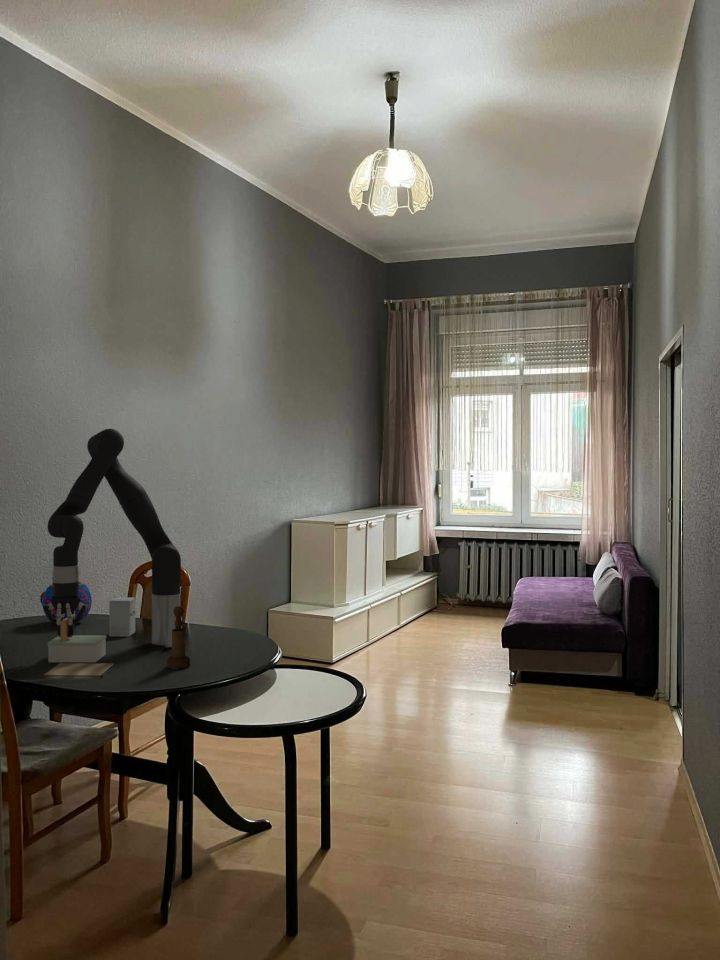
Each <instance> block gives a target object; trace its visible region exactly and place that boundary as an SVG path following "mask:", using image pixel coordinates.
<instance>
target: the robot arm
mask: <svg viewBox="0 0 720 960" xmlns="http://www.w3.org/2000/svg"><path fill="white" fill-rule="evenodd" d="M86 446H87V447H86V448H87V452H88V453H89V456H90V458H91V459H90V460H89V462H88V464H87V465H86V467H85V468H84V470H83V471H82V472H81V474H80V475H79V476H78V477H77V479H76V480H75V482H74V483H73V484H72V486H71V488H70V490H69V493H68V494H67V497H66V498H65V500H64V501H63V502H62V503H61V504H60V505H59V506H58V507H57V509H55V511H54V512H53V513H52V514H51V515H50V516H49V519H48V521H47V531H48V534H49V535H50V536H51V537H53V538H60V539H61V538H62V539H64V541H63V543H62V545H58V546H55V547H54V549H53V553H52V554H53V557H52V558H53V563H52V564H53V565H52V566H53V567H52V578H51V580H52V584H53V599H52V601H51V603H49V604H47V605H45V606H42V610H43V609H44V610H45V612H46V614H47V616H48V618H49V619H48V618H47V619H48V620H49V621H50V623H51V624H55V625H57V627H56V629H57V631H56V632H57V633H56V635H57V636H59V637H61V621H62V620H64V615H65V613H66V614H67V617H68V622H69V625H68V637H72V636H73V635H75V633H76V632H75V631H76V630H75V629H76V626H75V625H76V624H78V623H80V622H81V621H82V620H81V619H82V618H83V616H84V614H85V612H86V610H87V608H88V604H83V603H81V602H80V599H79V582H80V581H79V579H80V577H79V575H80V572H79V549H80V545H81V540H82V537H83V534H84V522H83V521H82V518H81V517H80V516H79V515H82V514H84V513H86V511H87V510H88V508H89V507H90V504H91V502H92V501H93V498H94V497H95V494H96V492H97V490H98V488H99V487H100V484H101V483H102V480H103V479H104V478H105V480H106V481H107V483H108V486H109V487H110V488H111V490H112V492H113V494H114V496H115V497H116V499H117V502H118V503H119V505H120V507H121V510H122V511H123V513H124V514H125V517H126V518H127V519H128V521H129V522H130V523H131V525H132V527H133V528H134V529H135V530H136V531H137V533H138V534H139V535H140V537H141V539H142V540H143V542H144V544H145V546H146V548H147V550H148V553H149V555H150V557H151V644H152V645H155V646H164V647H163V648H164V649H165V648H172V630H173V629H176V627H175V621H176V617H175V615H174V613H173V610H174V608H175V607H178V606H181V587H182V586H181V582H182V580H181V578H182V558H181V555H180V552H179V550H178V549H177V547H176V546H175V545H174V543H173V542H172V540H171V539H170V538H169V536H168V535H167V533H166V531H165V530H164V528H163V526H162V524H161V522H160V519H159V516H158V513H157V511H156V508H155V507H154V505H153V502H152V500H151V498H150V496H149V495H148V493H147V491H146V489H145V488H144V487H143V485H142V484H141V483H139V482H138V480H137V479H135V478H134V477H132V476H131V475H130V474H129V473H128V472H127V471H126V470H125V468H124V467H123V466H122V463H120V460H119V459H118V457H119V455H120V454H121V452H122V451H123V450H124V446H125V440H124V437H123V435H122V433H121V432H120V431H119V430H117V429H114V428H107V429H106V428H105V429H102V430H101V431H99V432H97V433H95V434H94V435H92V436H91V437H89V439H88V441H87V445H86ZM78 606H79V610H80V611H79V613H78V615H77V617H76V619H75V610H76V608H77V607H78ZM53 607H54V608H55V609H56V611H57V617H56V616H55V614H54V612H53V610H52V609H53ZM44 610H43V611H44ZM47 616H46V617H47ZM181 621H182V622H183V616H182V617H181ZM181 628H183V625H182V626H181Z"/></svg>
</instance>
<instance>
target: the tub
mask: <svg viewBox="0 0 720 960" xmlns="http://www.w3.org/2000/svg"><path fill="white" fill-rule="evenodd" d="M106 639H107V638H106ZM106 639H104V640H103V641H102V642H100V643H99V644H98V645H96V646H47V647H48V657H47V658H48V660H47V661H48V663H96V662H97V663H98V661H100V659H102V658H103V657H104V656H106V654H107V653H106V651H107V648H106Z"/></svg>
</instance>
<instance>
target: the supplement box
mask: <svg viewBox="0 0 720 960" xmlns="http://www.w3.org/2000/svg"><path fill="white" fill-rule="evenodd" d="M108 603H109V604H108V605H109V606H108V607H109V610H108V611H109V612H108V613H109V616H108V621H109V622H108V623H109V624H108V625H109V627H108V628H109V629H108V631H109V632H108V636H109V637H127V638H128V637H130V636H132V635H133V634H135V633H136V597H124V596H123V597H114V598H112V599H110V600H109V602H108Z"/></svg>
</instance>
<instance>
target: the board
mask: <svg viewBox="0 0 720 960" xmlns="http://www.w3.org/2000/svg"><path fill="white" fill-rule="evenodd" d="M113 666H114V663H98V662H97V663H96V662H59V663H58V664H57V665H56V666H54V667H52V669H50V670H49V671H47V672H46V673H44V674H43V679H44V680H45V679H46V680H48V679H52V680H53V679H55V680H57V679H61V680H62V679H63V680H64V679H67V680H68V679H70V680H73V679H75V680H77V679H79V680H80V679H81V680H82V679H83V680H84V679H85V680H86V679H87V680H89V679H90V680H91V679H93V680H97V679H99V680H100V679H102V678H103V677H104V675H103V674H104V673H105V672H107V670H109V668H111V667H113Z"/></svg>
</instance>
